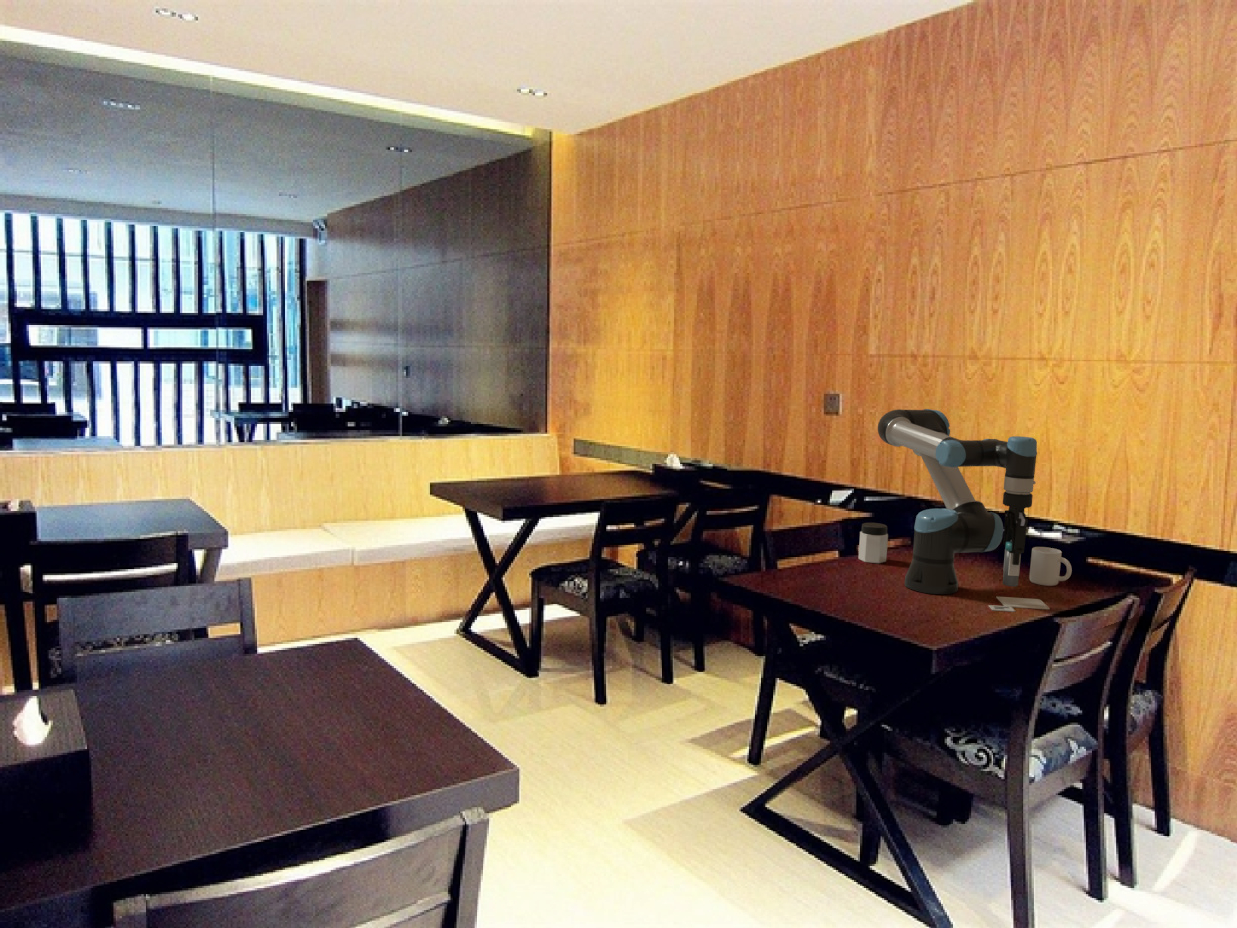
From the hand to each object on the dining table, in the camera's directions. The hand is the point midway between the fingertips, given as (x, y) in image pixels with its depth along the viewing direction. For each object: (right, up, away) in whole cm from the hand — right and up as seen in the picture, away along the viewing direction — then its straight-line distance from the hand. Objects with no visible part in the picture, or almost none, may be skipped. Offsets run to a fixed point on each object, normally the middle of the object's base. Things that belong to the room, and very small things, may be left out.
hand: (1011, 573), depth 255 cm
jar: (-26, -1, +46) cm, 53 cm away
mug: (+22, -6, +23) cm, 32 cm away
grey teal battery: (0, -3, 0) cm, 3 cm away
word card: (-5, -9, -5) cm, 12 cm away
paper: (+4, -9, +1) cm, 9 cm away
